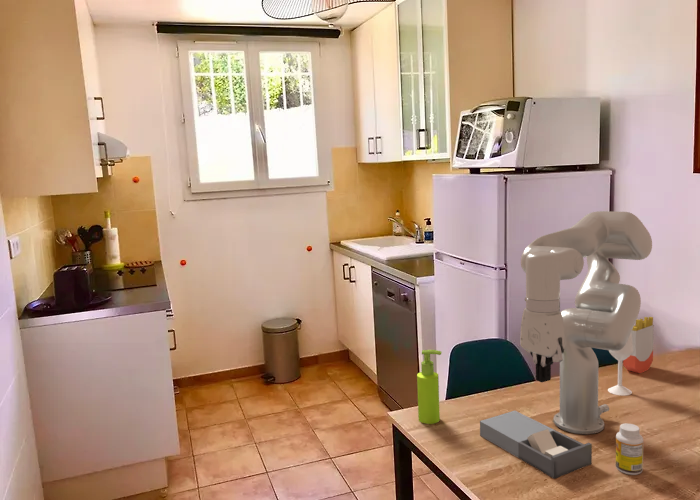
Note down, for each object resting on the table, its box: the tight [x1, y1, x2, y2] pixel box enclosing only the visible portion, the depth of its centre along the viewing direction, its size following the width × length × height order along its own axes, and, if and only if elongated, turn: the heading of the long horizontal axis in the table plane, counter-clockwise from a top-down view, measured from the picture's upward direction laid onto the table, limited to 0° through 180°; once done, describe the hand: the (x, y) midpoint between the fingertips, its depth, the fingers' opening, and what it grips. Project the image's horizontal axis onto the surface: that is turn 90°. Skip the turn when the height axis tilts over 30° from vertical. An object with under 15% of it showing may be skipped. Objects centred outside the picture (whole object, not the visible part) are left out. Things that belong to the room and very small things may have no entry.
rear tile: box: [527, 429, 557, 454], centre depth 137 cm, size 5×5×2 cm
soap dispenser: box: [416, 349, 443, 425], centre depth 159 cm, size 6×7×20 cm
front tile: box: [545, 446, 568, 458], centre depth 132 cm, size 5×5×2 cm
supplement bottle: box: [615, 422, 644, 476], centre depth 129 cm, size 6×6×10 cm
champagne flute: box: [607, 334, 633, 396], centre depth 172 cm, size 7×7×24 cm
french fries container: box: [622, 316, 655, 374], centre depth 189 cm, size 5×11×18 cm, turn 124°
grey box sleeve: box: [479, 410, 555, 459], centre depth 146 cm, size 12×14×4 cm
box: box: [518, 429, 593, 480], centre depth 134 cm, size 12×11×5 cm
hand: (543, 380), depth 135 cm, fingers closed
